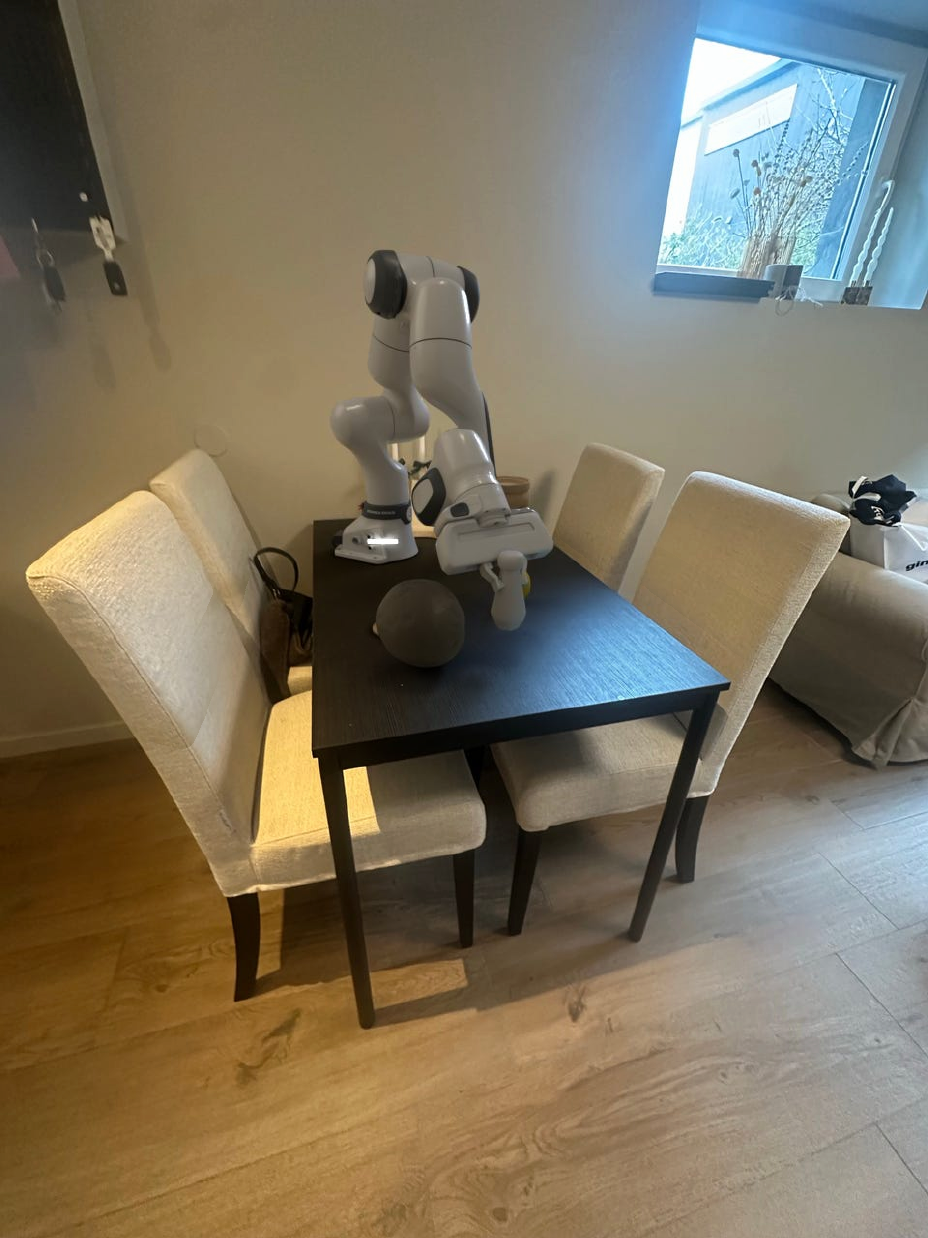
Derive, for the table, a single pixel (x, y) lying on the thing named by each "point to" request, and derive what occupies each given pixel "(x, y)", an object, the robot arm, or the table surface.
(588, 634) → the table surface
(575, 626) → the table surface
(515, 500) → the container
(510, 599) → the salt shaker
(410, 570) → the table surface
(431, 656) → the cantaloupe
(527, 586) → the lemon
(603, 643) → the table surface
